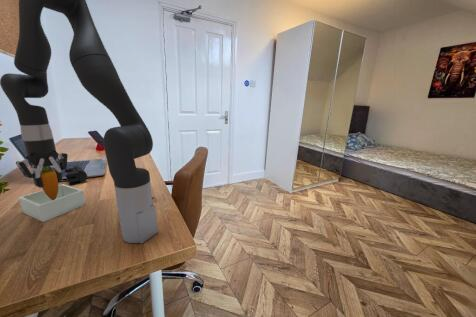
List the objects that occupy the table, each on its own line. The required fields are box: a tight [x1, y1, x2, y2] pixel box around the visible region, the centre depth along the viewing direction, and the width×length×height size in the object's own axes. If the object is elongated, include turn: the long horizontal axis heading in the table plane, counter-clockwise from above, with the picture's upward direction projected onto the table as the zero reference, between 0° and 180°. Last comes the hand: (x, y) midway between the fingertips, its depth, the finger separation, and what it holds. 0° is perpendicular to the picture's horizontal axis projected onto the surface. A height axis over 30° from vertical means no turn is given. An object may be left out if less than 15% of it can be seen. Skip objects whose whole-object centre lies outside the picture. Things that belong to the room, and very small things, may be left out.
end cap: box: [64, 165, 88, 187], centre depth 102 cm, size 10×7×7 cm
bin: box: [18, 183, 86, 223], centre depth 77 cm, size 13×13×6 cm
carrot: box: [40, 166, 59, 200], centre depth 75 cm, size 5×5×15 cm
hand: (49, 184), depth 75 cm, fingers closed on carrot, 5 cm apart
